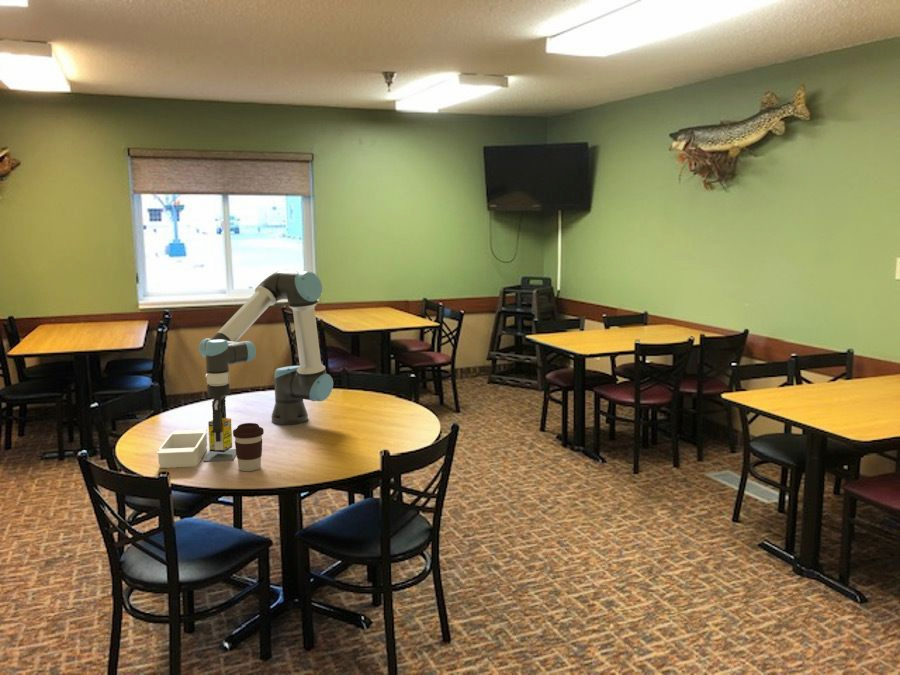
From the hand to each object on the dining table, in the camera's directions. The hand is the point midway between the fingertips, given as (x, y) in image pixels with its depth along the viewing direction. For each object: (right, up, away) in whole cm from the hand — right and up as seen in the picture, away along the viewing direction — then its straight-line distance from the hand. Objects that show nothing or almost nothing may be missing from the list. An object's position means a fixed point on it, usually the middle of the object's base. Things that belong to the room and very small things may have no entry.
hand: (220, 446), depth 248 cm
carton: (-12, -4, -3) cm, 13 cm away
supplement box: (0, -1, 0) cm, 1 cm away
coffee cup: (+14, -6, -12) cm, 19 cm away
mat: (0, -4, +1) cm, 4 cm away
